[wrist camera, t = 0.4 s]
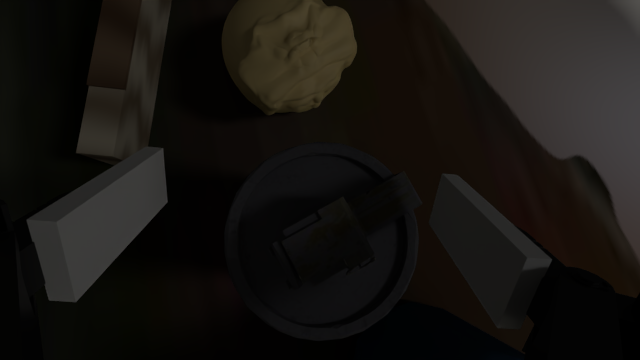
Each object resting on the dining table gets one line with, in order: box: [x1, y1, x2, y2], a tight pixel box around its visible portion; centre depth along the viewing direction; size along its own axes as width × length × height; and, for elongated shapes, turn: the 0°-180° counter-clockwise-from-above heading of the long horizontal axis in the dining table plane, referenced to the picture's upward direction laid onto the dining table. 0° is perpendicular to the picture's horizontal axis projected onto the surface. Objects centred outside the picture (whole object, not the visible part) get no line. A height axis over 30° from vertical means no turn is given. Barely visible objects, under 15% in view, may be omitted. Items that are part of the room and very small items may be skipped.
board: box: [76, 0, 172, 165], centre depth 32 cm, size 24×3×6 cm, turn 175°
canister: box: [224, 142, 422, 341], centre depth 24 cm, size 11×10×20 cm
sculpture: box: [222, 0, 357, 115], centre depth 31 cm, size 11×12×11 cm
